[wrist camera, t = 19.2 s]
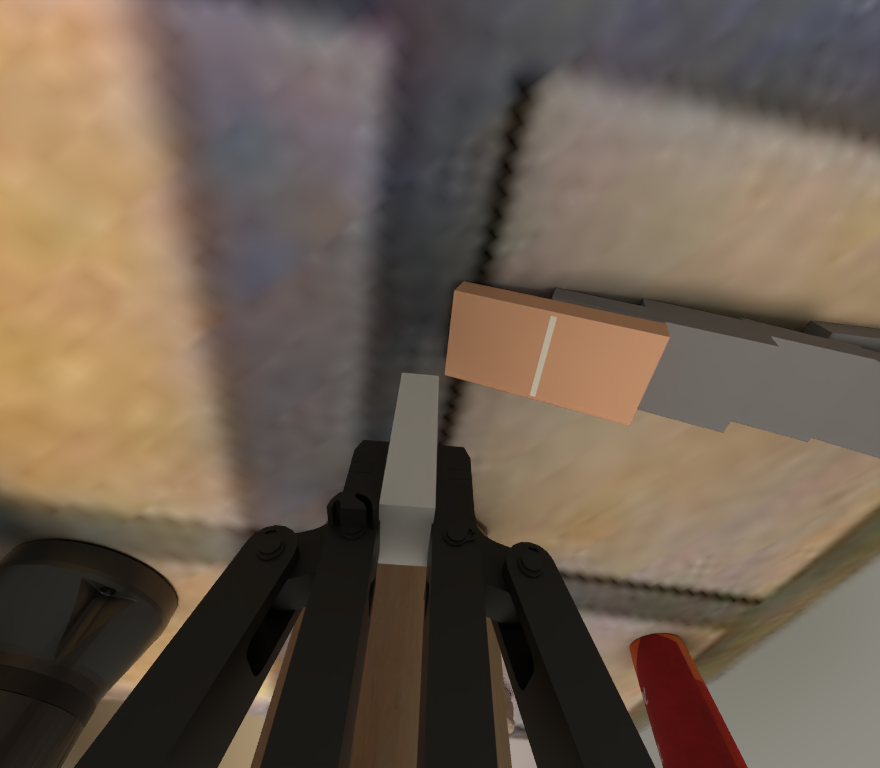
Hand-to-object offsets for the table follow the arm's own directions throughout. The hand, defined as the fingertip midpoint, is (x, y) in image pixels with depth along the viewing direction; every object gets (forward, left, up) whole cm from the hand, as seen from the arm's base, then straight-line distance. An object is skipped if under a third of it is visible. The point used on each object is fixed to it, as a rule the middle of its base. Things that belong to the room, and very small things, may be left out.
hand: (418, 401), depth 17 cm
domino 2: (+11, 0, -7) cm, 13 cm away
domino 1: (+6, +1, -6) cm, 9 cm away
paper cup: (+28, -36, -7) cm, 46 cm away
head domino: (+2, 0, -6) cm, 7 cm away
